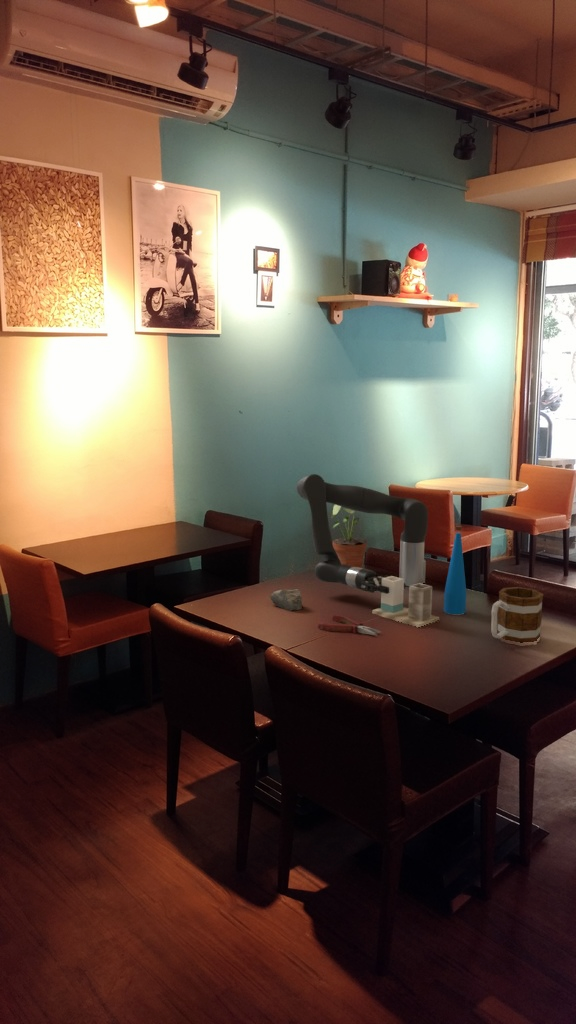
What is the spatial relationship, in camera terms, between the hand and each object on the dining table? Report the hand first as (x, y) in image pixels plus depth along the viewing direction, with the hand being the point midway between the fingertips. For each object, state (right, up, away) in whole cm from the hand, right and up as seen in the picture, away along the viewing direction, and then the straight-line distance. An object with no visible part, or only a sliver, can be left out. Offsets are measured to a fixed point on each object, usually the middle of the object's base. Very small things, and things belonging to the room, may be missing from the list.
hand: (396, 588), depth 268 cm
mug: (+33, -14, -23) cm, 43 cm away
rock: (-37, -7, +11) cm, 40 cm away
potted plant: (-13, +1, +56) cm, 57 cm away
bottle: (+21, -9, +5) cm, 23 cm away
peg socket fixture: (+3, -10, -1) cm, 10 cm away
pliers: (-18, -13, -15) cm, 27 cm away
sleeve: (-1, -8, +3) cm, 8 cm away
